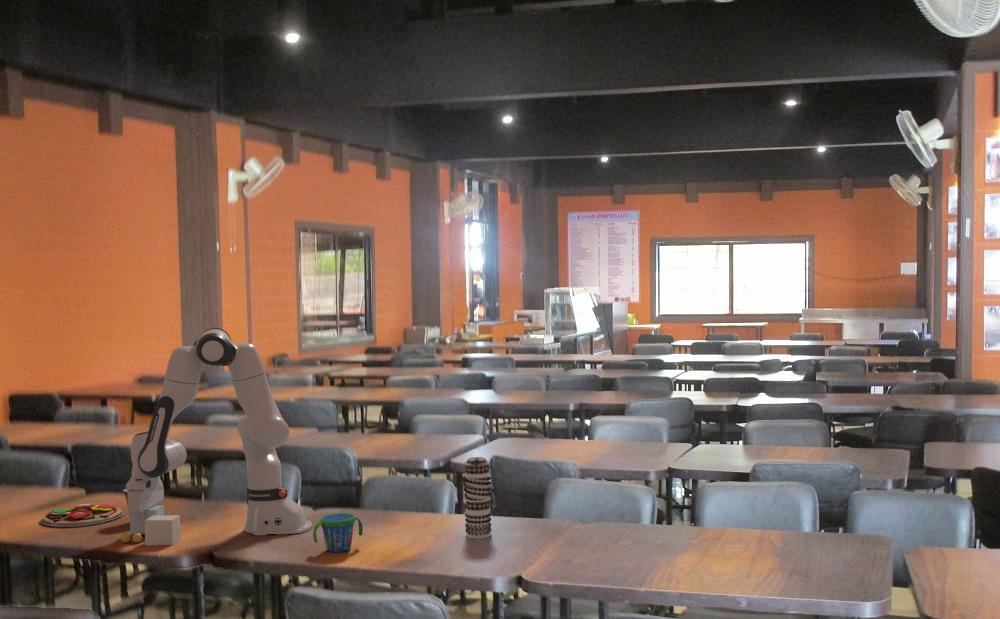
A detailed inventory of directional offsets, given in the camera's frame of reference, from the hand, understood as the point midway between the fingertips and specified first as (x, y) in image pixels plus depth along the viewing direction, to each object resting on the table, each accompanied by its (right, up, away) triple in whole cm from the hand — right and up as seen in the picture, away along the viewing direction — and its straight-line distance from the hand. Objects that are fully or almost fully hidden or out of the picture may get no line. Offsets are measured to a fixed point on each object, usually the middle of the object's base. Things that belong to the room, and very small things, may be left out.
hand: (147, 520), depth 326 cm
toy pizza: (-32, -5, +25) cm, 41 cm away
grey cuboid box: (+9, -5, -10) cm, 14 cm away
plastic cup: (-9, -5, +18) cm, 20 cm away
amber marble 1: (-4, -5, -10) cm, 11 cm away
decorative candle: (+111, -3, -9) cm, 111 cm away
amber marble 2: (0, -5, -10) cm, 11 cm away
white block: (0, -4, 0) cm, 4 cm away
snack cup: (+68, -4, -23) cm, 72 cm away
